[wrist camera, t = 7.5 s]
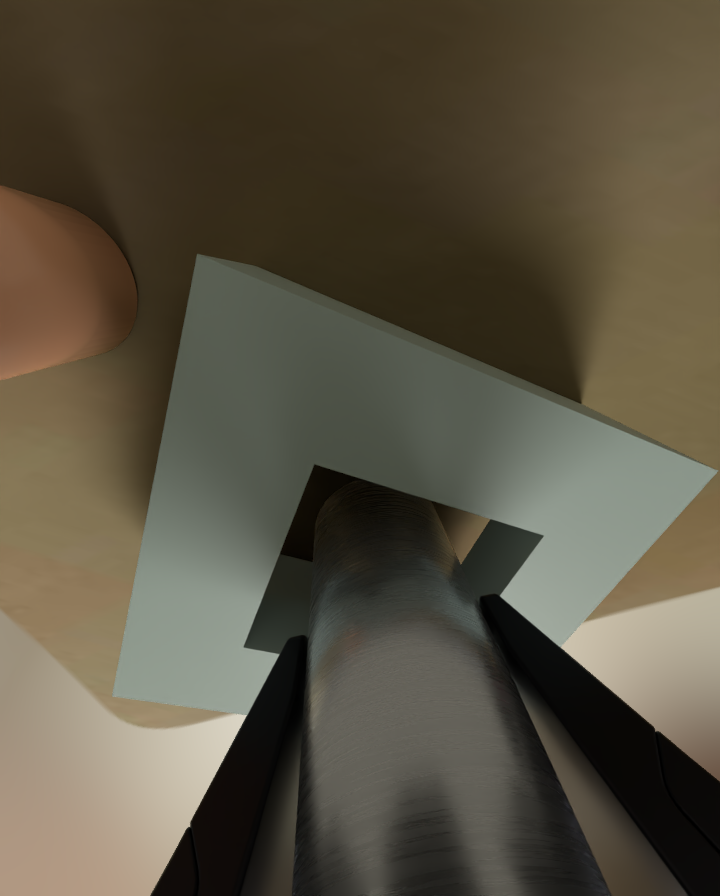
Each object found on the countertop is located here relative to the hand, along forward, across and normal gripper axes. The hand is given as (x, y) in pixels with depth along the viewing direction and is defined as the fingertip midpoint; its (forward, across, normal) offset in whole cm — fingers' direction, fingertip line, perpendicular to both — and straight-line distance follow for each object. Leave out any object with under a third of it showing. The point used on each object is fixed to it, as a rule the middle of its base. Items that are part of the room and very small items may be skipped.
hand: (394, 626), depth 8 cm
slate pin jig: (+6, 0, 0) cm, 6 cm away
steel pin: (+4, 0, 0) cm, 4 cm away
